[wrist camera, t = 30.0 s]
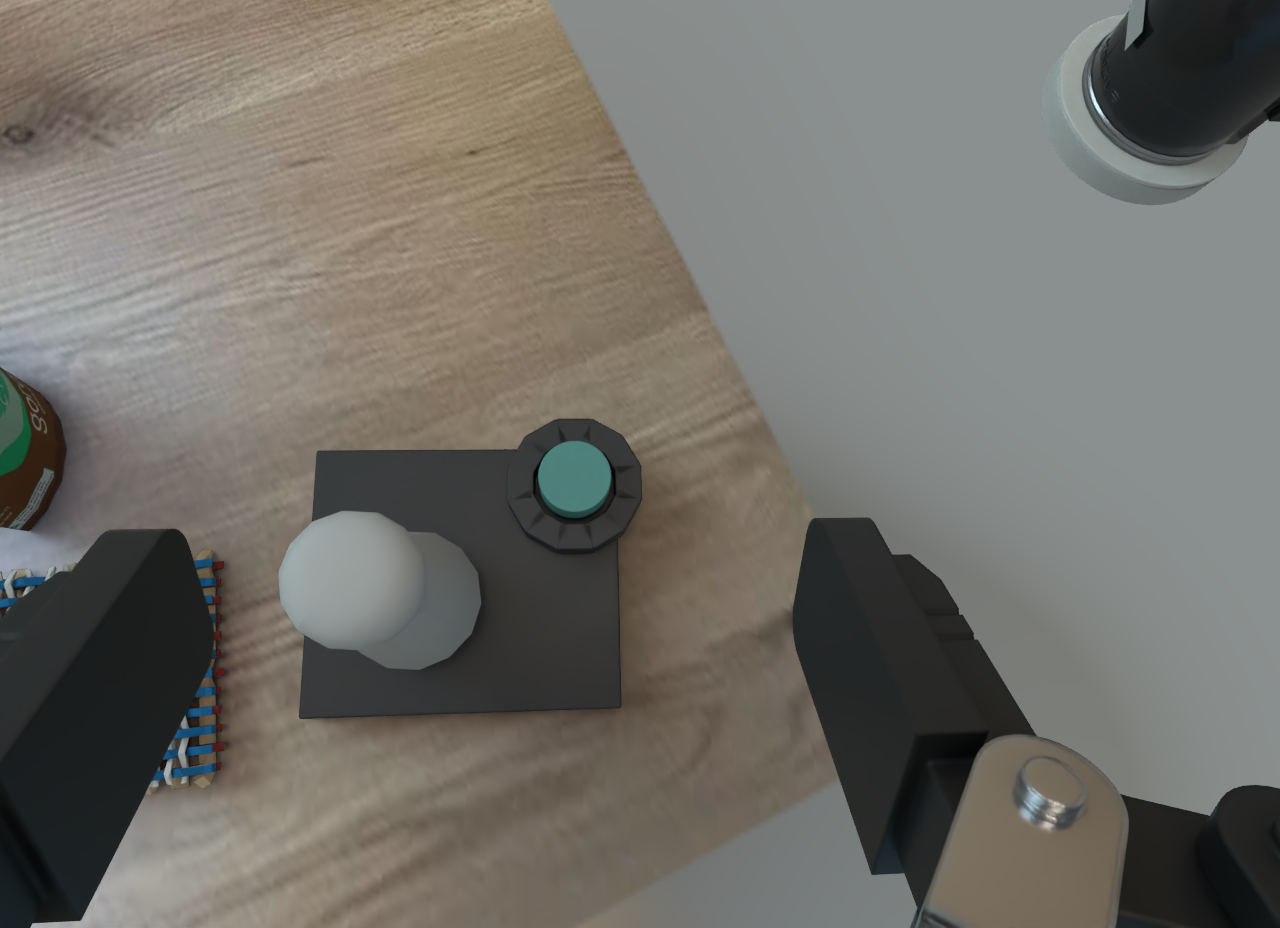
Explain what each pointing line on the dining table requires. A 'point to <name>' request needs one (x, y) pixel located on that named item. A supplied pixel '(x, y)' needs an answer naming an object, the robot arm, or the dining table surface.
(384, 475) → the scale
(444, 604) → the salt shaker
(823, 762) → the dining table surface
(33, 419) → the food container
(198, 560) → the woven mat
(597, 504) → the button
